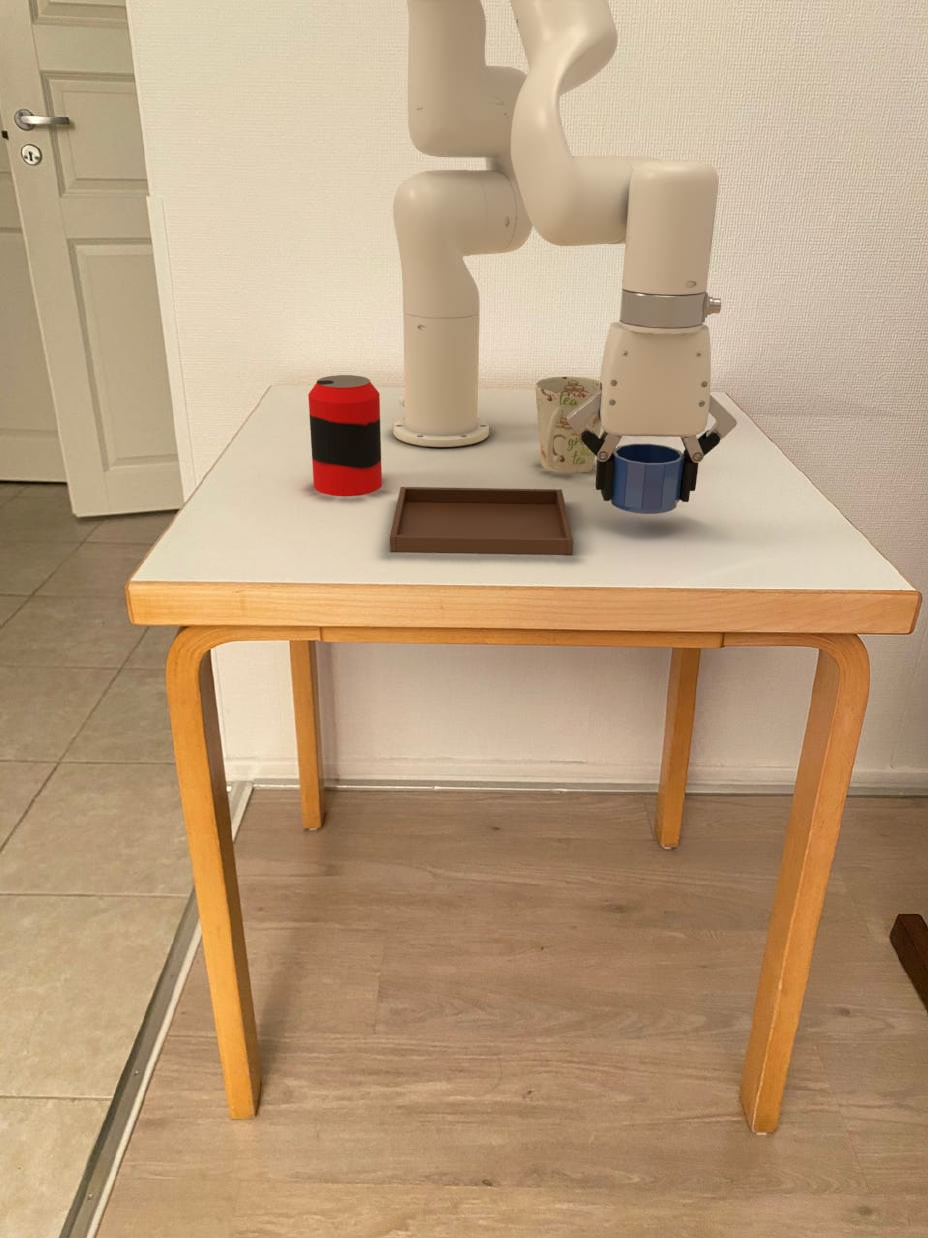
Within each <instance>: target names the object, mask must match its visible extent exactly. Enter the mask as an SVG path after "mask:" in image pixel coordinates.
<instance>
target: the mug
mask: <svg viewBox="0 0 928 1238" xmlns="http://www.w3.org/2000/svg"><path fill="white" fill-rule="evenodd" d="M599 381H600V379H594V378H589V377H581V376H552V377H547V378H542V379H540V380H538V381H537V382H536V383H535V399H536V400H535V403H536V415H537V426H538V427H537V428H538V439H539V452H540V463H541V464H540V465H541V467H542V468H543V469H545V470H547V471H551V472H554V473H558V474H559V473H560V474H580V473H581V474H582V473H587V474H589V473H591V472H592V470H593V467H594V464H595V463H594V462H595V458H596V456H595V455H594V453H593V452H592V451H591V450H590V449H589V448H588V447H587V446H586V445H585V444H584V443H583V441H582V440H581V439H580V437H579V436H578V435H577V434H576V433H575V431H574V430H573V429H572V428H571V426H570V425H569V424H568V421H567V416H568V415H569V414H570V413H571V412H572V411H573V410H575V409H576V408H577V407H579V406H580V405H581V404H582V403H584V402H585V401H586V400H587V399H589V398H590V397H591V396H592V395H594V394H595V393H596V392H597V391H598V389H599ZM586 424H587V426H588V427H589V428H590V429H591V430H592V431H593V432H594V433H595V434H596V435H597V436H598V437H600V435H601V429H602V426H601V421H600V420H598V418H597V412H596V413H595V414H593V415H592V416H591V417H590V418H588V419H587V420H586Z"/></svg>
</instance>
